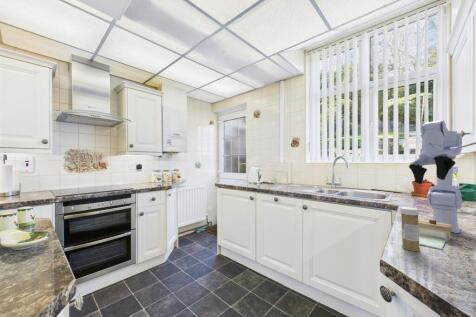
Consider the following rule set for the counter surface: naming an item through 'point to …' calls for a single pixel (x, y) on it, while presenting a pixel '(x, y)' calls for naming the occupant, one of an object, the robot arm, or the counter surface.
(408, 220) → the sprinkles bottle
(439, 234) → the butter dish
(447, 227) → the lid
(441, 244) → the mat
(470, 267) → the counter surface
